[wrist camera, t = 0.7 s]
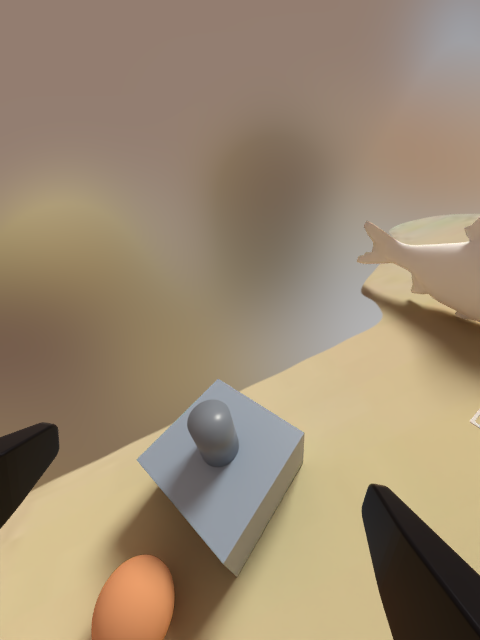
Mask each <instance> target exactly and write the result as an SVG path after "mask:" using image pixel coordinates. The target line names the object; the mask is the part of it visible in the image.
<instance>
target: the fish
mask: <svg viewBox="0 0 480 640" xmlns="http://www.w3.org/2000/svg"><path fill="white" fill-rule="evenodd" d="M364 228H365V230H366V232H367V234H368V235H369V237H370V238H371V240H372V241H373V249H372V252H366V253H365V254H364V255H362V256H359V257H358V259H357V262H359V263H363V264H380V263H394V264H396V265H398V266H400V267H402V268H404V269H406V270H408V271H409V272H411V273H412V282H413V285H412V289H411V292H412V293H417V294H429V295H430V296H431V297H432V298H434V299H435V300H437V301H438V302H440V303H442V304H444V305H446V306H448V307H450V308H452V309H454V310H456V311H457V312H456V313H455V314H456V316H457V317H459V318H462V319H467V320H474V321H478V322H480V217H479V218H478V219H477V220H476V221H475V222H474V223H473V224H472V225H471V226H468V227H466V228H465V232H466V235H467V236H468V238H469V239H470V241H469V242H463V243H451V244H431V245H407V244H404V243H401V242H399V241H397V240H396V239H394V238H393V237H391V236H390V235H389V234H387V233H386V232H384V231H383V230H382V229H380V228H379V227H377V226H376V225H374V224H373V223H371V222H369V221H366V223H365V225H364Z"/></svg>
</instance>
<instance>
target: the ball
mask: <svg viewBox="0 0 480 640" xmlns="http://www.w3.org/2000/svg"><path fill="white" fill-rule="evenodd" d="M174 600H175V591H174V583H173V579H172V576H171V573H170V571H169V569H168V567H167V566H166V565H165V564H164V563H163V562H162V561H161V560H160V559H159V558H157V557H155V556H152V555H139V556H135V557H132V558H131V559H129V560H127V561H125V562H124V563H122V564H121V565H120V566H119V567H118V568H117V569H116V570H115V571H114V572H113V573H112V575H111V576H110V577H109V578H108V580H107V581H106V583H105V585H104V586H103V588H102V590H101V592H100V594H99V597H98V599H97V602H96V605H95V608H94V613H93V618H92V640H163V639H164V637H165V635H166V633H167V630H168V628H169V625H170V622H171V619H172V614H173V609H174Z"/></svg>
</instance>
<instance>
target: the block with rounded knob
mask: <svg viewBox="0 0 480 640" xmlns="http://www.w3.org/2000/svg"><path fill="white" fill-rule="evenodd" d="M303 452H304V432H302V431H301V430H299V429H297V428H296V427H294V426H293V425H291V424H289V423H288V422H286V421H285V420H283V419H281V418H280V417H278V416H277V415H275V414H273V413H272V412H270V411H269V410H267V409H266V408H264V407H262V406H261V405H259V404H258V403H256V402H254V401H253V400H251V399H250V398H248V397H246V396H245V395H243V394H242V393H240V392H239V391H237V390H235V389H234V388H232V387H231V386H229V385H227V384H226V383H224V382H223V381H221V380H219V379H217V380H216V382H214V383H213V384H212V386H210V387H209V388H208V389H207V390H206V391H205V392H204V393H203V394H202V396H200V397H199V398H198V399H197V400H196V401H195V402H194V403H193V404H192V405H191V406H190V407H189V408H188V409H187V410H186V411H185V412H184V413H183V414H182V415H181V416H180V417H179V418H178V419H177V420H176V421H175V422H174V423H173V424H172V425H171V426H170V427H169V428H168V429H167V430H166V431H165V432H164V433H163V434H162V435H161V436H160V437H159V438H158V439H157V440H156V441H155V442H154V443H153V444H152V445H151V446H150V447H149V448H148V449H147V450H146V451H145V452H144V453H143V454H142V455H141V456H140V457H139V458H138V459H137V461H138V462H139V463H140V465H141V466H142V467H143V468H144V469H145V471H146V472H147V473H148V474H149V475H150V477H151V478H152V479H153V480H154V481H155V483H156V484H157V485H158V486H159V487H160V489H161V490H162V491H163V492H164V493H165V495H166V496H167V497H168V498H169V499H170V501H171V502H172V503H173V504H174V505H175V507H176V508H177V509H178V510H179V511H180V513H181V514H182V515H183V516H184V517H185V519H186V520H187V521H188V522H189V523H190V525H191V526H192V527H193V528H194V529H195V531H196V532H197V533H198V534H199V535H200V537H201V538H202V539H203V540H204V541H205V543H206V544H207V545H208V546H209V547H210V549H211V550H212V551H213V552H214V553H215V555H216V556H217V557H218V558H219V559H220V561H221V562H222V563H223V564H224V565H225V566H226V567H227V568H228V569H229V570H230V571H231V572H232V573H233V574H234V575H235V576H236V577H237V576H238V574H239V573H240V571H241V569H242V567H243V566H244V564H245V562H246V560H247V559H248V557H249V555H250V554H251V552H252V550H253V548H254V547H255V545H256V543H257V541H258V540H259V538H260V536H261V534H262V533H263V531H264V529H265V527H266V526H267V524H268V522H269V521H270V519H271V517H272V515H273V514H274V512H275V510H276V508H277V507H278V505H279V503H280V501H281V500H282V498H283V496H284V494H285V493H286V491H287V489H288V488H289V486H290V484H291V482H292V481H293V479H294V477H295V475H296V474H297V472H298V470H299V468H300V467H301V465H302V463H303Z"/></svg>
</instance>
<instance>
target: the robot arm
mask: <svg viewBox="0 0 480 640" xmlns="http://www.w3.org/2000/svg"><path fill="white" fill-rule="evenodd" d="M58 436H59V435H58V427H57V426H56V425H54V424H50V423H39V424H36V425H33V426H30V427H27V428H25V429H22V430H19V431H16V432H14V433H11V434H8V435H5V436H3V437H0V529H1V527H2V526H3V525H4V524H5V523H6V522H7V520H8V519H9V518H10V517H11V516H12V514H13V513H14V512H15V511H16V509H17V508H18V507H19V505H20V504H21V503H22V502H23V500H24V499H25V498H26V496H27V495H28V494H29V492H30V491H31V489H32V488H33V487H34V485H35V484H36V483H37V481H38V480H39V479H40V477H41V476H42V475H43V473H44V472H45V471H46V469H47V468H48V467H49V465H50V464H51V463H52V461H53V460H54V459H55V457H56V455H57V453H58V451H59V437H58ZM362 518H363V523H364V527H365V532H366V536H367V541H368V545H369V550H370V554H371V559H372V563H373V568H374V572H375V577H376V581H377V585H378V589H379V593H380V596H381V600H382V603H383V607H384V610H385V613H386V617H387V620H388V623H389V626H390V630H391V633H392V636H393V639H394V640H480V575H479V574H478V573H477V572H476V571H475V570H474V569H472V568H471V567H470V566H469V565H468V564H467V563H466V562H465V561H464V560H463V559H462V558H461V557H460V556H459V555H458V554H457V553H456V552H455V551H454V550H453V549H452V548H451V547H450V546H449V545H447V544H446V543H445V542H444V541H443V540H442V539H441V538H440V537H439V536H438V535H437V534H436V533H435V532H434V531H433V530H432V529H431V528H430V527H429V526H428V525H427V524H426V523H425V522H424V521H423V520H421V519H420V518H419V517H418V516H417V515H416V514H415V513H414V512H413V511H412V510H411V509H410V508H409V507H408V506H407V505H406V504H405V503H404V502H403V501H402V500H401V499H400V498H399V497H398V496H396V495H395V494H394V493H393V492H392V491H391V490H390V489H389V488H388V487H386V486H383V485H378V484H370V485H369V486H368V489H367V492H366V495H365V498H364V502H363V505H362Z"/></svg>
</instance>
